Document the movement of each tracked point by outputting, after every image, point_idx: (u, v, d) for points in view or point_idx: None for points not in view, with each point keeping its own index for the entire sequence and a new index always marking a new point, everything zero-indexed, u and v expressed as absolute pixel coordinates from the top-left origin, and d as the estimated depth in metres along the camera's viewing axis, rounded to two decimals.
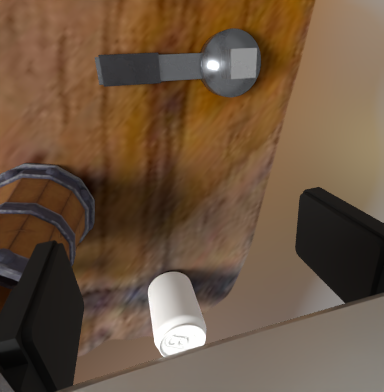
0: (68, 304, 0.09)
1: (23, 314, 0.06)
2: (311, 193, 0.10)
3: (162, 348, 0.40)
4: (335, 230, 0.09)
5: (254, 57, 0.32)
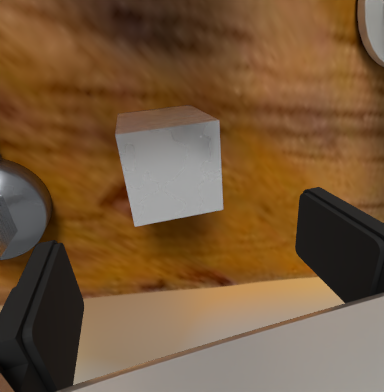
0: (68, 304, 0.09)
1: (23, 314, 0.06)
2: (311, 193, 0.10)
3: None
4: (335, 230, 0.09)
5: None
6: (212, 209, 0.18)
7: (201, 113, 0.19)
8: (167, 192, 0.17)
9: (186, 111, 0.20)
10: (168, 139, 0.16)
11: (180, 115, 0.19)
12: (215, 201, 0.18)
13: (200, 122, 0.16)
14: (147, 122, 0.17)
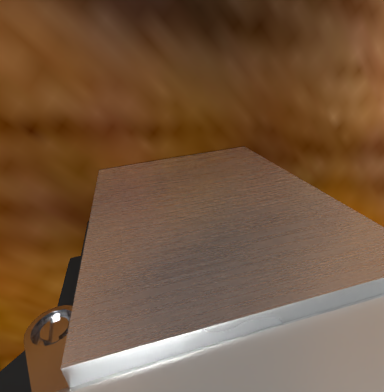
0: None
1: None
2: None
3: None
4: None
5: None
6: None
7: (309, 191, 0.07)
8: None
9: (257, 175, 0.09)
10: None
11: (255, 196, 0.07)
12: None
13: (376, 269, 0.05)
14: (176, 236, 0.06)
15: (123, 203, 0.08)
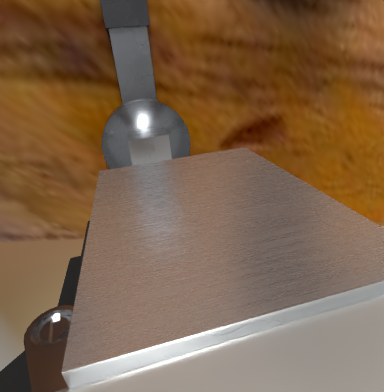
0: None
1: None
2: None
3: None
4: None
5: None
6: None
7: (310, 192, 0.07)
8: None
9: (258, 176, 0.09)
10: None
11: (256, 198, 0.07)
12: None
13: (378, 271, 0.04)
14: (177, 237, 0.06)
15: (123, 204, 0.08)
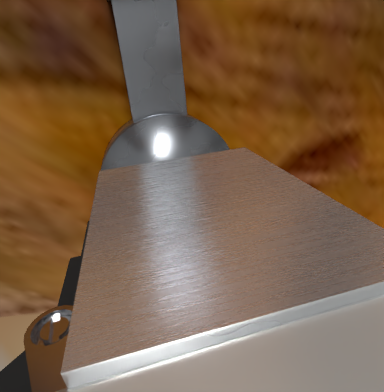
0: None
1: None
2: None
3: None
4: None
5: None
6: None
7: (310, 192, 0.07)
8: None
9: (258, 176, 0.09)
10: None
11: (256, 198, 0.07)
12: None
13: (377, 272, 0.04)
14: (177, 238, 0.06)
15: (123, 205, 0.08)
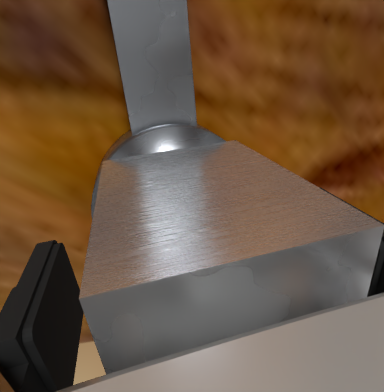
0: (68, 304, 0.09)
1: (23, 314, 0.06)
2: None
3: None
4: None
5: None
6: None
7: (288, 176, 0.08)
8: None
9: (244, 164, 0.10)
10: (243, 287, 0.05)
11: (241, 180, 0.08)
12: None
13: (331, 231, 0.06)
14: (171, 210, 0.07)
15: (125, 187, 0.09)
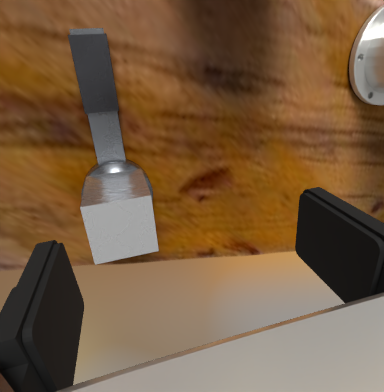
0: (68, 304, 0.09)
1: (23, 314, 0.06)
2: (311, 193, 0.10)
3: None
4: (335, 230, 0.09)
5: None
6: (150, 251, 0.27)
7: (144, 183, 0.27)
8: (117, 241, 0.25)
9: (135, 179, 0.28)
10: (116, 208, 0.24)
11: (129, 184, 0.27)
12: (152, 245, 0.26)
13: (138, 196, 0.24)
14: (104, 192, 0.25)
15: (93, 186, 0.27)
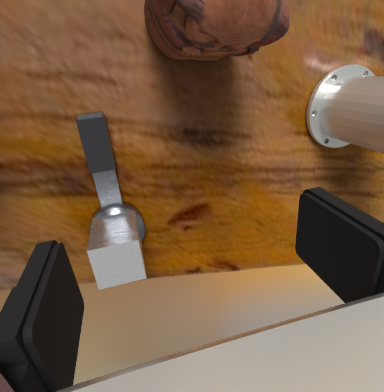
0: (68, 304, 0.09)
1: (23, 314, 0.06)
2: (311, 193, 0.10)
3: None
4: (335, 230, 0.09)
5: None
6: (140, 278, 0.35)
7: (135, 227, 0.36)
8: (115, 272, 0.34)
9: (128, 222, 0.37)
10: (113, 250, 0.33)
11: (123, 228, 0.36)
12: (141, 274, 0.35)
13: (129, 241, 0.33)
14: (105, 236, 0.34)
15: (97, 229, 0.36)
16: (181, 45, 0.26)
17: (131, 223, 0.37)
